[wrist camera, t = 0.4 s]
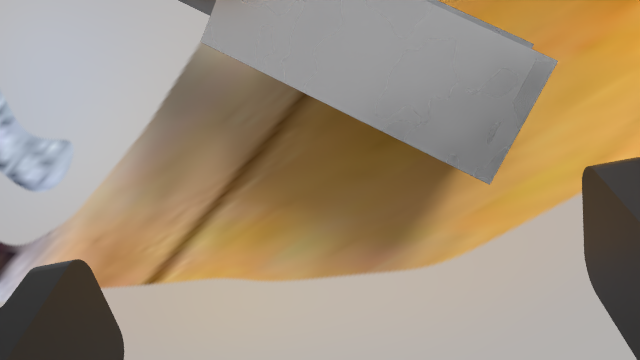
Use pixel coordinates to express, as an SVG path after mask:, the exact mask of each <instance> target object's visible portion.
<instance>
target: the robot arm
mask: <svg viewBox="0 0 640 360" xmlns="http://www.w3.org/2000/svg"><path fill="white" fill-rule="evenodd" d="M582 195H583V224H584V226H583V227H584V254H585V261H586V267H587V271H588V275H589V278H590V281H591V283H592V286H593V288H594V290H595V292H596V294H597V296H598V297H599V299H600V301H601V302H602V304H603V305H604V307H605V309H606V310H607V312H608V313H609V315H610V317H611V318H612V320H613V322H614V323H615V325H616V326H617V328H618V330H619V331H620V333H621V334H622V336H623V337H624V339H625V341H626V342H627V344H628V346H629V347H630V349H631V350H632V352H633V353H634V355H635V357H636V358H637V360H640V157H636V158H631V159H626V160H620V161H615V162H609V163H604V164H599V165H593V166H588V167H586V168H585V169H584V172H583V177H582ZM123 359H124V343H123V338H122V334H121V331H120V329H119V326H118V324H117V322H116V320H115V318H114V316H113V314H112V312H111V310H110V307H109V305H108V303H107V301H106V299H105V297H104V295H103V293H102V291H101V289H100V287H99V284H98V282H97V280H96V278H95V276H94V274H93V272H92V270H91V268H90V267H89V266H88V264H87V263H85V262H84V261H82V260H72V261H66V262H61V263H55V264H50V265H44V266H39V267H35V268H33V269H31V270H30V271H29V272H28V274H27V275H26V276H25V278H24V279H23V280H22V282H21V283H20V284H19V286H18V287H17V288H16V290H15V291H14V292H13V294H12V295H11V296H10V298H9V299H8V300H7V302H6V303H5V304H4V305H3V306H2V307H1V308H0V360H123Z"/></svg>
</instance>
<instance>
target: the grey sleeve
mask: <svg viewBox="0 0 640 360" xmlns="http://www.w3.org/2000/svg"><path fill="white" fill-rule="evenodd" d="M201 42H202V43H204V44H206V45H208V46H210V47H212V48H214V49H216V50H218V51H220V52H222V53H224V54H226V55H228V56H230V57H232V58H234V59H236V60H238V61H240V62H242V63H244V64H246V65H248V66H250V67H252V68H255V69H257V70H259V71H261V72H263V73H265V74H267V75H269V76H271V77H273V78H275V79H277V80H279V81H281V82H283V83H285V84H287V85H289V86H291V87H293V88H295V89H297V90H299V91H301V92H303V93H305V94H307V95H309V96H311V97H313V98H315V99H317V100H319V101H321V102H323V103H325V104H327V105H329V106H331V107H333V108H336V109H338V110H340V111H342V112H344V113H346V114H348V115H350V116H352V117H354V118H356V119H358V120H360V121H362V122H364V123H366V124H368V125H370V126H372V127H374V128H376V129H378V130H380V131H382V132H384V133H386V134H388V135H390V136H392V137H394V138H396V139H398V140H400V141H402V142H404V143H406V144H408V145H410V146H412V147H414V148H416V149H419V150H421V151H423V152H425V153H427V154H429V155H431V156H433V157H435V158H437V159H439V160H441V161H443V162H445V163H447V164H449V165H451V166H453V167H455V168H457V169H459V170H461V171H463V172H465V173H467V174H469V175H471V176H473V177H475V178H477V179H479V180H481V181H483V182H485V183H487V184H489V185H490V183H491V181H492V180H493V178H494V176H495V174H496V172H497V171H498V169H499V167H500V165H501V163H502V162H503V160H504V158H505V156H506V154H507V153H508V151H509V149H510V147H511V145H512V143H513V142H514V140H515V138H516V136H517V134H518V133H519V131H520V129H521V127H522V125H523V124H524V122H525V120H526V118H527V116H528V115H529V113H530V111H531V109H532V107H533V106H534V104H535V102H536V100H537V98H538V96H539V95H540V93H541V91H542V89H543V87H544V86H545V84H546V82H547V80H548V78H549V77H550V75H551V73H552V71H553V69H554V68H555V66H556V64H557V62H558V61H557V60H555V59H553V58H550V57H548V56H546V55H544V54H542V53H539V52H537V51H535V50H533V49H532V47H533V45H534V44H532V43H530V42H528V41H526V40H524V39H521V38H519V37H517V36H515V35H513V34H510V33H508V32H506V31H504V30H502V29H499V28H497V27H495V26H493V25H491V24H488V23H486V22H484V21H482V20H479V19H477V18H475V17H473V16H471V15H468V14H466V13H464V12H462V11H460V10H457V9H455V8H453V7H451V6H449V5H446V4H444V3H442V2H440V1H438V0H216V2H215V5H214V8H213V10H212V13H211V16H210V18H209V21H208V24H207V26H206V29H205V31H204V34H203V37H202V39H201Z"/></svg>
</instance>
